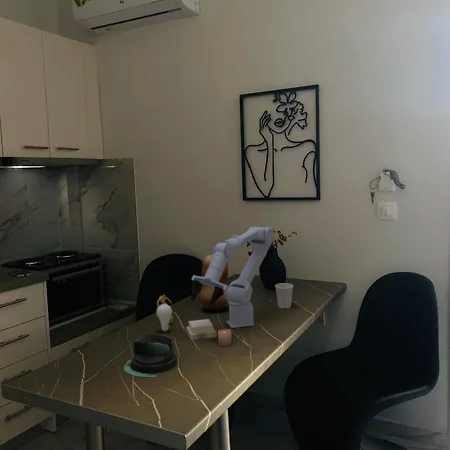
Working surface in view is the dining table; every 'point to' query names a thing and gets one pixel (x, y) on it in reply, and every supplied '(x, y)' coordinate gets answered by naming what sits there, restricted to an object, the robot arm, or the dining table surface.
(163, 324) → the lightbulb
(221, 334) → the terracotta cylinder
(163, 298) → the figurine
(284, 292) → the dixie cup
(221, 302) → the butternut squash
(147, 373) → the black hat
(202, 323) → the cream slab
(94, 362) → the dining table surface
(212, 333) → the birch slab
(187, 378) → the dining table surface
